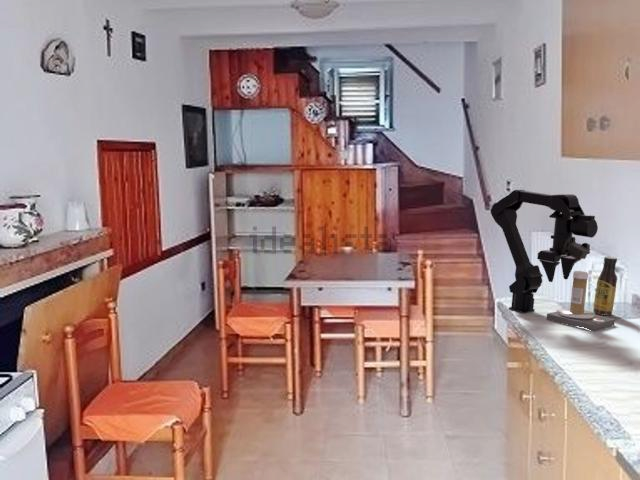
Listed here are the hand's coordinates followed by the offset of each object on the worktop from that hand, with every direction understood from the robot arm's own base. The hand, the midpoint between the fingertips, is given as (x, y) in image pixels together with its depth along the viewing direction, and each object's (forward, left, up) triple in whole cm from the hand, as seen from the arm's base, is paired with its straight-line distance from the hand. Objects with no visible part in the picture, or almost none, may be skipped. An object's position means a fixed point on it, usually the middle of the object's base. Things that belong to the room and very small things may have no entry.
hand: (558, 280), depth 229 cm
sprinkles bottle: (+5, +4, -10) cm, 12 cm away
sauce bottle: (+5, +23, -13) cm, 27 cm away
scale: (+7, +4, -13) cm, 15 cm away
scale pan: (+5, +4, -11) cm, 13 cm away
